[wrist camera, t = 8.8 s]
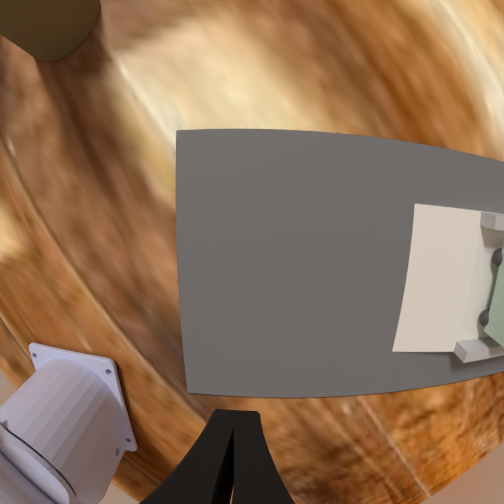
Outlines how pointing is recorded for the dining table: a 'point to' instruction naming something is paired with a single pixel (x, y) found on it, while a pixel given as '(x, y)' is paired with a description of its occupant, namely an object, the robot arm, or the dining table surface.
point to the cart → (496, 303)
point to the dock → (333, 263)
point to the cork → (48, 25)
